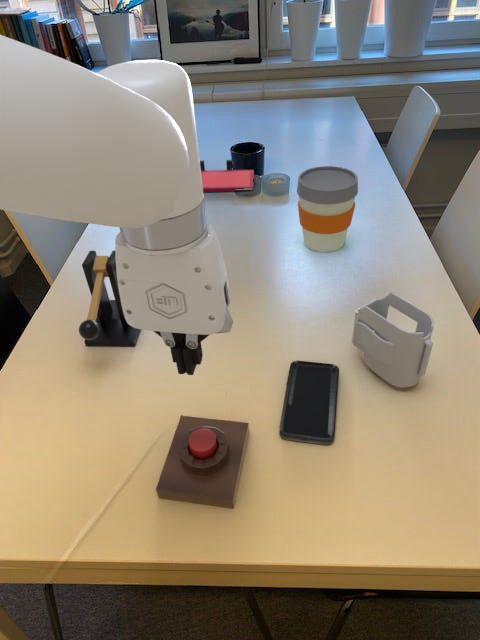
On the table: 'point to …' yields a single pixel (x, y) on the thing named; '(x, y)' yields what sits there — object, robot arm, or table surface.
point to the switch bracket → (109, 309)
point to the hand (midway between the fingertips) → (189, 365)
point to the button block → (204, 464)
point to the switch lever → (95, 300)
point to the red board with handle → (226, 178)
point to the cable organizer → (393, 341)
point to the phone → (310, 403)
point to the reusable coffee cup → (326, 206)
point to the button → (202, 443)
